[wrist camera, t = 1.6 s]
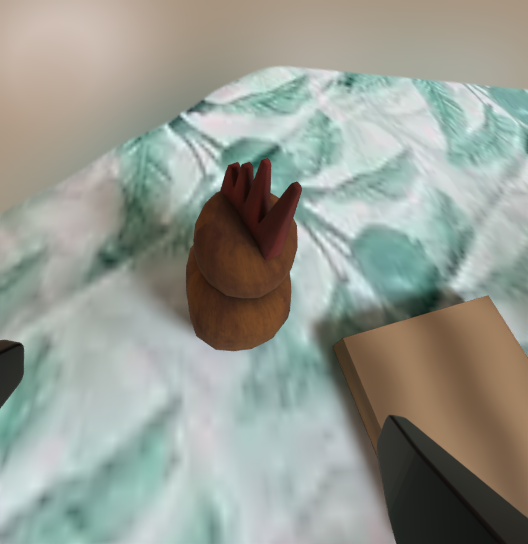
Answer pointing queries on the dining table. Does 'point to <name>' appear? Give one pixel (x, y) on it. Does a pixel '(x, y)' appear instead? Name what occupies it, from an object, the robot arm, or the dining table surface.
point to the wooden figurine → (242, 260)
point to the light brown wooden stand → (449, 388)
